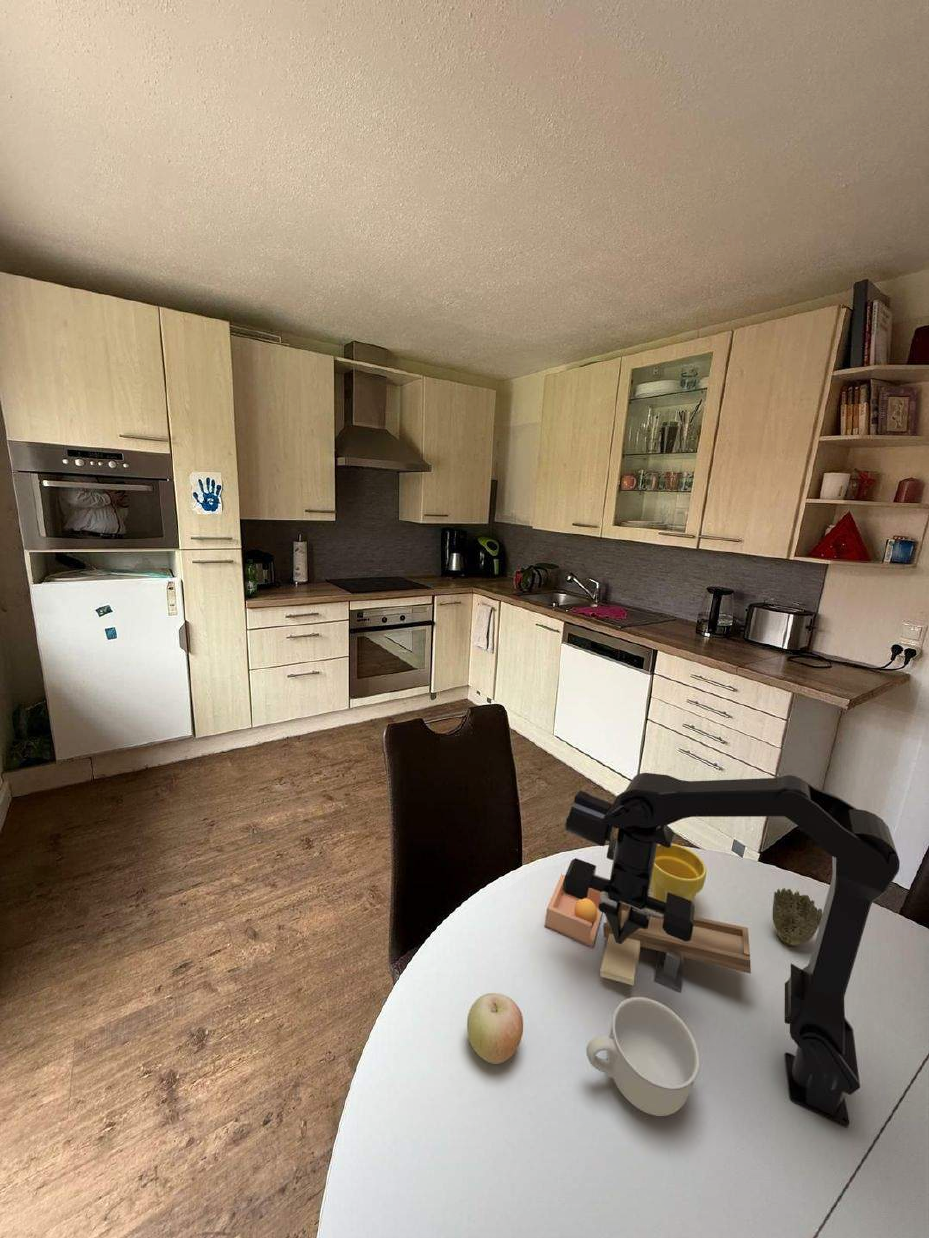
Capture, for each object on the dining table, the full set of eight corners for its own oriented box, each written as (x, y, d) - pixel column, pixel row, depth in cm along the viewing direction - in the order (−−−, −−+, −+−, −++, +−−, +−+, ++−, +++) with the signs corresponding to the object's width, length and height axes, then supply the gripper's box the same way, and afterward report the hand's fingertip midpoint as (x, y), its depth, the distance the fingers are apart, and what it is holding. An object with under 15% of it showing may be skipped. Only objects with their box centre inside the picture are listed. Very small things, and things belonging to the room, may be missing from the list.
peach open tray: (592, 947, 87) (595, 928, 86) (544, 926, 90) (547, 907, 89) (603, 909, 95) (606, 891, 94) (559, 891, 99) (561, 874, 98)
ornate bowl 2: (822, 960, 88) (833, 922, 86) (780, 956, 88) (790, 918, 86) (796, 925, 95) (806, 889, 93) (756, 921, 95) (766, 885, 93)
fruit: (474, 1082, 66) (479, 1034, 64) (460, 1025, 72) (464, 981, 71) (528, 1068, 68) (535, 1021, 66) (509, 1014, 75) (515, 971, 73)
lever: (754, 1019, 70) (753, 1003, 70) (594, 974, 80) (593, 959, 80) (748, 939, 83) (747, 925, 83) (611, 909, 93) (610, 896, 93)
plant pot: (629, 887, 101) (637, 845, 99) (672, 879, 105) (680, 838, 102) (663, 929, 92) (673, 884, 89) (709, 919, 95) (719, 875, 93)
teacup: (674, 1047, 72) (684, 1002, 70) (701, 1141, 61) (714, 1091, 59) (575, 1031, 73) (582, 987, 71) (584, 1120, 62) (593, 1071, 61)
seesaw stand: (680, 992, 80) (686, 966, 79) (654, 980, 82) (659, 955, 80) (684, 936, 91) (689, 913, 89) (661, 927, 92) (665, 904, 91)
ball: (595, 931, 89) (593, 910, 89) (573, 925, 91) (571, 905, 90) (600, 915, 93) (598, 895, 92) (578, 910, 95) (576, 891, 94)
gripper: (702, 847, 79) (685, 929, 83) (584, 808, 87) (573, 885, 91) (701, 894, 70) (681, 984, 73) (568, 846, 77) (555, 930, 81)
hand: (618, 941), depth 80 cm, fingers closed
